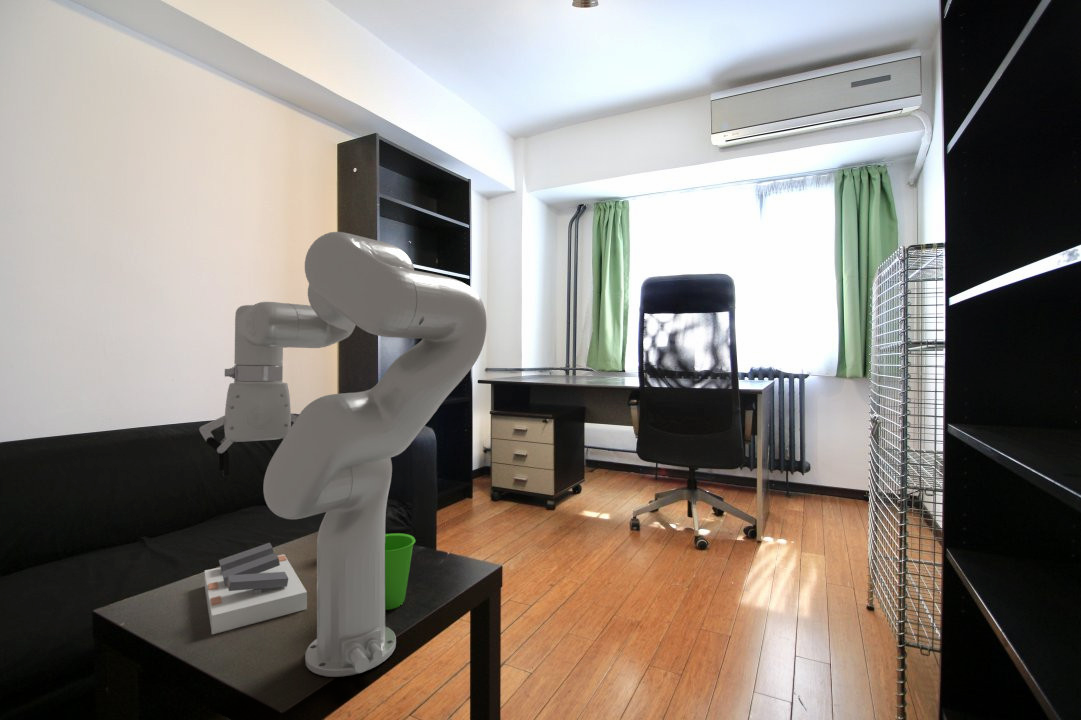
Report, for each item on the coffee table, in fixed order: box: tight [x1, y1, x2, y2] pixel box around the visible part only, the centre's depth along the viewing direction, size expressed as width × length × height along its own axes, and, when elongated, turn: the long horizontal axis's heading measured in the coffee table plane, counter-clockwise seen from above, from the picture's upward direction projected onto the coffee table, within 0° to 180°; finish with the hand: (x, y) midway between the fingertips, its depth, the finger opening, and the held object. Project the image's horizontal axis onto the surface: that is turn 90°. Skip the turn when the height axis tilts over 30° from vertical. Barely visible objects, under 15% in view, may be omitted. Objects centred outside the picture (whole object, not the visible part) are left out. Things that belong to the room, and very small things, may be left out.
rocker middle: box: [222, 552, 280, 586], centre depth 95 cm, size 4×9×1 cm, turn 126°
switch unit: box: [204, 553, 308, 635], centre depth 94 cm, size 22×14×4 cm, turn 36°
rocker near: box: [227, 572, 288, 591], centre depth 89 cm, size 4×9×1 cm, turn 126°
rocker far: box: [218, 542, 275, 572], centre depth 100 cm, size 4×9×1 cm, turn 126°
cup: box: [385, 532, 416, 611], centre depth 91 cm, size 9×9×11 cm
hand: (257, 471), depth 90 cm, fingers open, 9 cm apart
